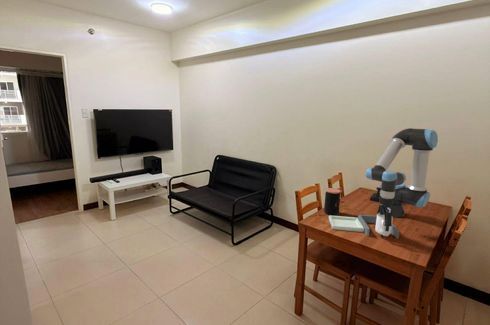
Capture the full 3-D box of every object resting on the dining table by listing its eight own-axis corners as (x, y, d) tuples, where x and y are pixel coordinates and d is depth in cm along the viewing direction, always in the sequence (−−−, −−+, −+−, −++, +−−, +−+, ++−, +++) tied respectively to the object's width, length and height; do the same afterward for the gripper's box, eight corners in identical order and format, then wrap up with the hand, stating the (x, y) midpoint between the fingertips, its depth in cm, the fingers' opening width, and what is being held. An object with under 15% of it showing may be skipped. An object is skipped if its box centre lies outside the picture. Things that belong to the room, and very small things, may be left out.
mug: (372, 234, 158) (374, 218, 156) (376, 227, 168) (378, 212, 166) (388, 239, 153) (391, 221, 151) (391, 231, 163) (393, 215, 161)
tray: (356, 220, 184) (357, 217, 183) (363, 232, 167) (364, 228, 167) (328, 218, 187) (328, 215, 186) (332, 229, 170) (332, 225, 170)
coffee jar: (336, 217, 190) (339, 193, 187) (322, 213, 196) (324, 190, 192) (340, 212, 199) (342, 189, 195) (326, 209, 205) (327, 187, 201)
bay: (385, 223, 181) (386, 216, 180) (398, 238, 159) (399, 231, 158) (357, 221, 183) (358, 214, 182) (366, 236, 162) (367, 228, 161)
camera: (371, 186, 222) (375, 180, 233) (369, 201, 226) (374, 195, 237) (392, 189, 213) (395, 184, 224) (390, 206, 217) (393, 199, 228)
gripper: (374, 190, 168) (370, 222, 173) (387, 203, 146) (382, 239, 150) (386, 191, 167) (382, 223, 171) (401, 204, 145) (396, 241, 149)
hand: (382, 231), depth 161 cm, fingers closed on mug, 11 cm apart
